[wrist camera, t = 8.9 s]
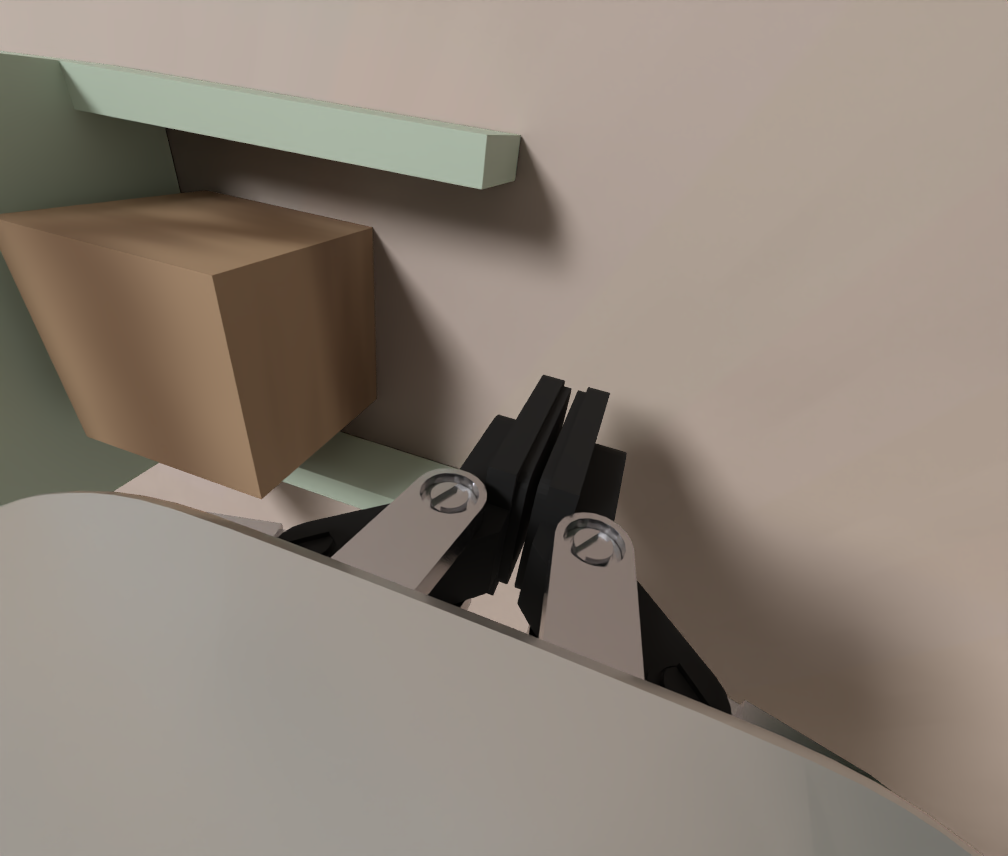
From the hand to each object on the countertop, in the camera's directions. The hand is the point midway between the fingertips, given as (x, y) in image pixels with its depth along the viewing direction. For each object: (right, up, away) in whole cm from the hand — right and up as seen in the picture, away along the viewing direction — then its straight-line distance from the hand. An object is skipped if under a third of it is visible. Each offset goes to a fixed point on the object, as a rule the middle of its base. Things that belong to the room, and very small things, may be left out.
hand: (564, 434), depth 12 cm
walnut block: (-9, +5, +5) cm, 11 cm away
